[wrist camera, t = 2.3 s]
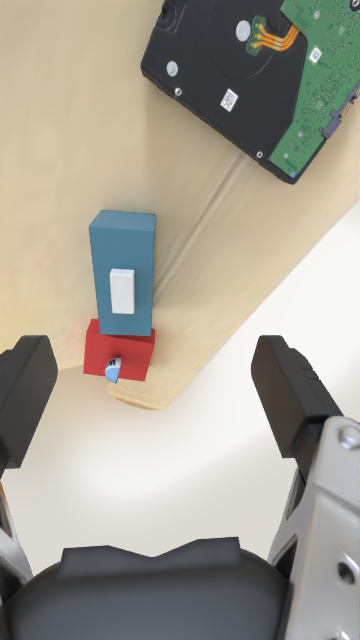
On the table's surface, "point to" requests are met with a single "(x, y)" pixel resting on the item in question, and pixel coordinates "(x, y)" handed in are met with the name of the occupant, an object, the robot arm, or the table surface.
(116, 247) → the tissue box
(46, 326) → the table surface
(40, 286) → the table surface
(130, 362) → the red rectangular block
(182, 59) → the disk drive
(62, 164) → the table surface
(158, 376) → the table surface
